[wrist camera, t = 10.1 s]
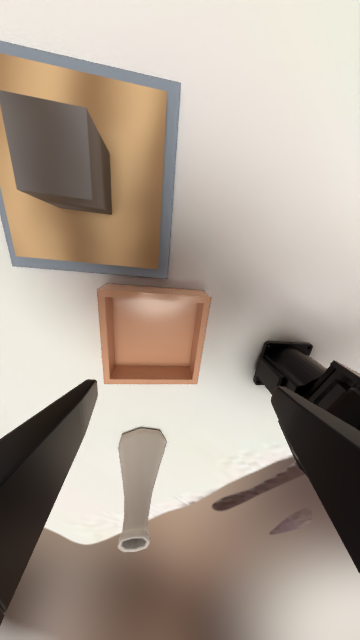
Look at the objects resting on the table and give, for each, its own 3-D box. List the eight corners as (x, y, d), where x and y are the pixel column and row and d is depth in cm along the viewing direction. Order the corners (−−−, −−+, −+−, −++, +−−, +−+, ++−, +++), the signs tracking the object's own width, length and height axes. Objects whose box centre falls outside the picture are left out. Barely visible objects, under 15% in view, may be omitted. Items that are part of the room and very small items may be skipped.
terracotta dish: (203, 290, 19) (211, 297, 16) (192, 367, 22) (197, 384, 20) (107, 283, 17) (96, 289, 15) (111, 366, 21) (104, 383, 18)
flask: (115, 429, 25) (88, 533, 16) (165, 423, 26) (168, 521, 16) (121, 460, 28) (102, 566, 18) (167, 455, 28) (171, 554, 19)
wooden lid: (166, 100, 13) (170, 7, 8) (158, 268, 17) (157, 275, 12) (-19, 59, 11) (-157, -90, 6) (22, 255, 16) (-42, 257, 11)
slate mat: (180, 87, 13) (180, 82, 13) (167, 278, 18) (167, 278, 18) (-37, 37, 11) (-44, 30, 11) (15, 265, 16) (12, 266, 16)
